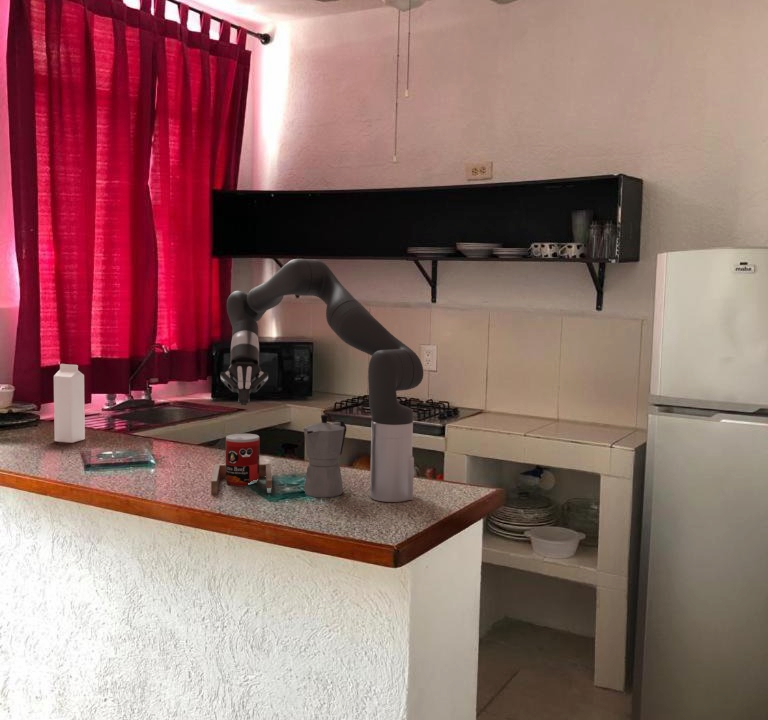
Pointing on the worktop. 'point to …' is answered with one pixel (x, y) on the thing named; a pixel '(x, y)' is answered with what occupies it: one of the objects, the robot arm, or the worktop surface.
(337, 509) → the worktop surface
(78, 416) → the milk
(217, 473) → the walnut u-shaped block
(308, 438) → the coffeepot
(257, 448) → the canned food
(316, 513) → the worktop surface
